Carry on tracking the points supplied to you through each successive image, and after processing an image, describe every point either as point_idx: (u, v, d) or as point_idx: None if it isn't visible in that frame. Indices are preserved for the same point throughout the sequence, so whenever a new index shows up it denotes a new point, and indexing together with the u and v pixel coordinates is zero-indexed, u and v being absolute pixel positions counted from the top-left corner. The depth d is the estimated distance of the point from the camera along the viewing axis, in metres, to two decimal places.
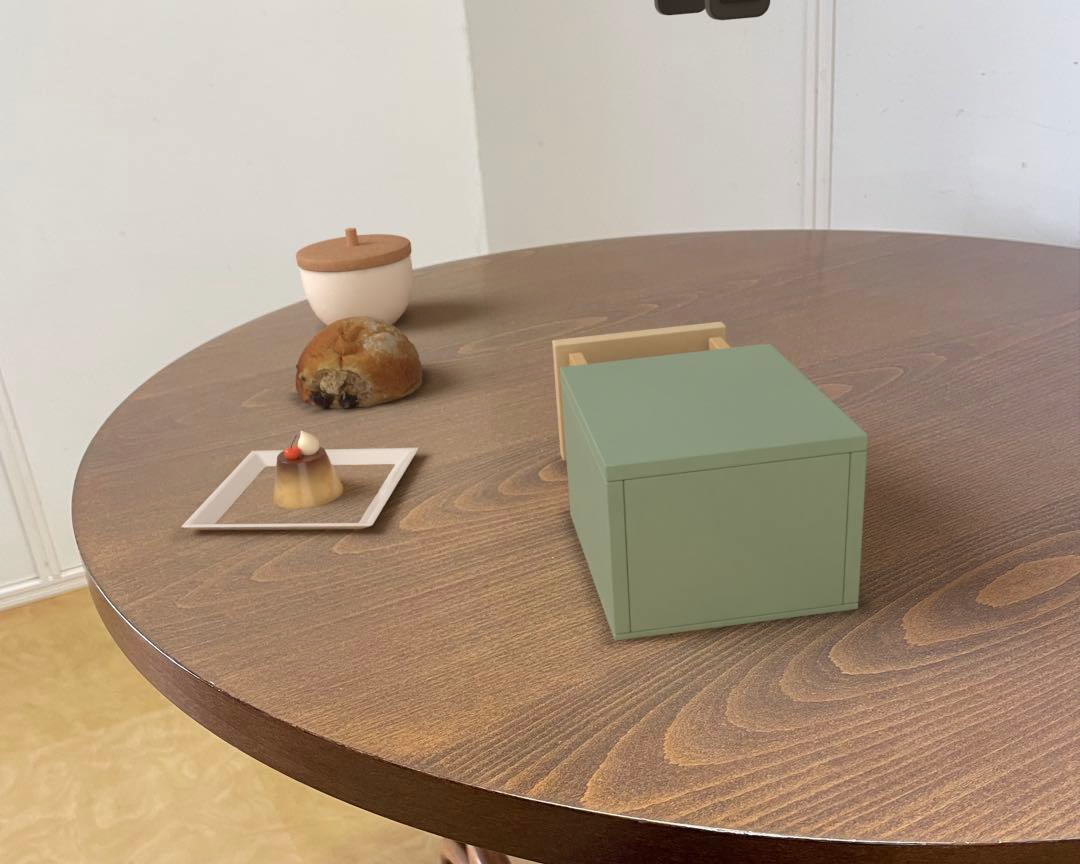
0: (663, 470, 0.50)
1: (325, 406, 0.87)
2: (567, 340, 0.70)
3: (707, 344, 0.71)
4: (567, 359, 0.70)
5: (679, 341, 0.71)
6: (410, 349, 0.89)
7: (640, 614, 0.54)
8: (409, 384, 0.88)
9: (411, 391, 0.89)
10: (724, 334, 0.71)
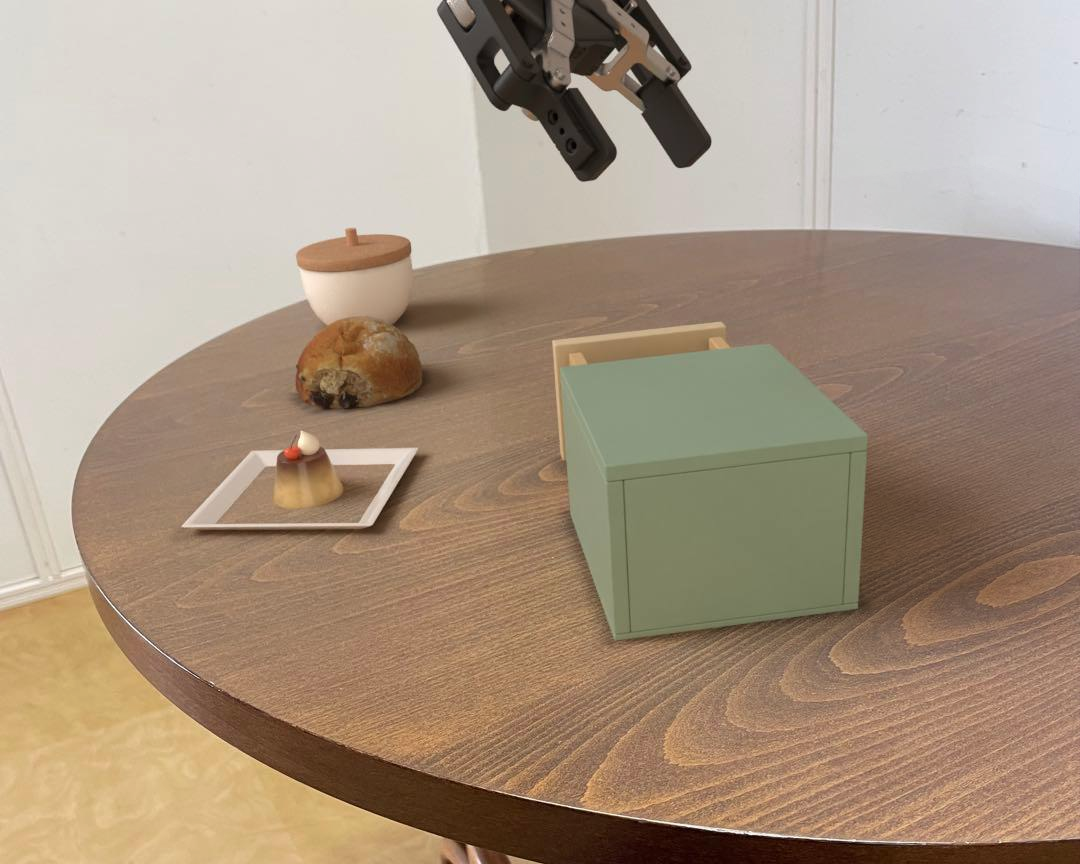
0: (663, 470, 0.50)
1: (325, 406, 0.87)
2: (567, 340, 0.70)
3: (707, 344, 0.71)
4: (567, 359, 0.70)
5: (679, 341, 0.71)
6: (410, 349, 0.89)
7: (640, 614, 0.54)
8: (409, 384, 0.88)
9: (411, 391, 0.89)
10: (724, 334, 0.71)
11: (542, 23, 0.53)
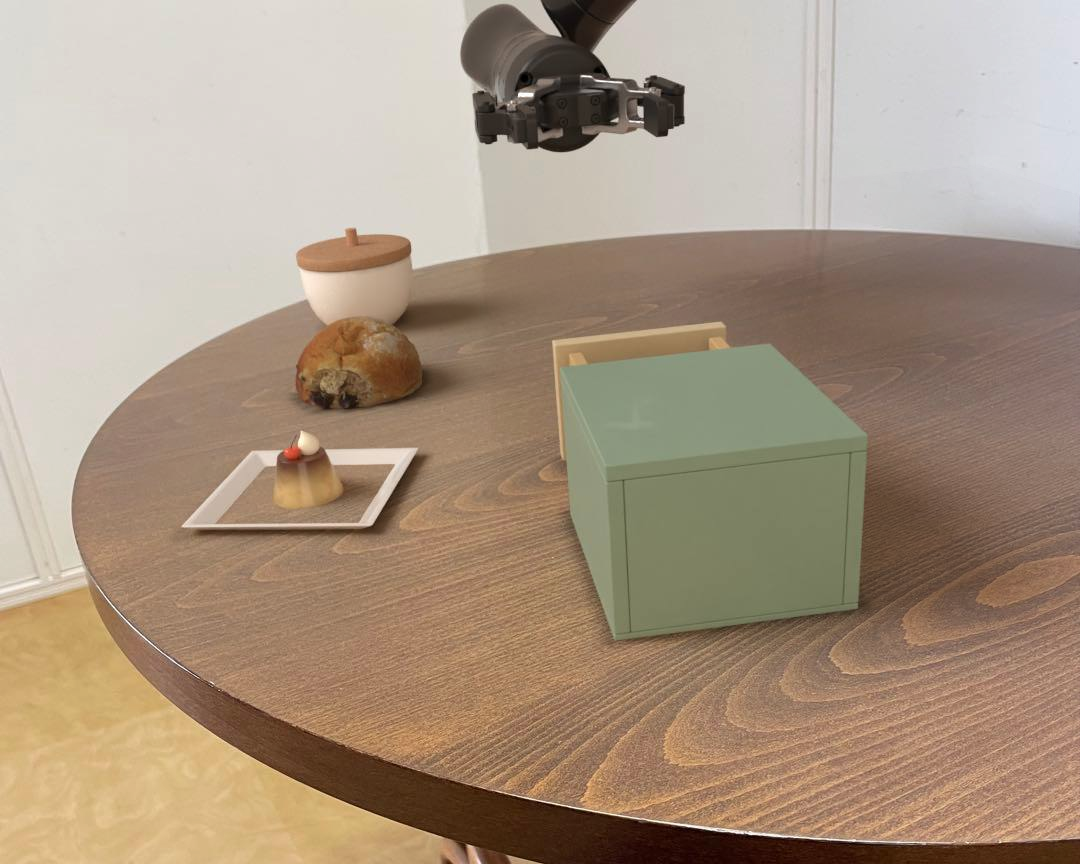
0: (663, 470, 0.50)
1: (325, 406, 0.87)
2: (567, 340, 0.70)
3: (707, 344, 0.71)
4: (567, 359, 0.70)
5: (679, 341, 0.71)
6: (410, 349, 0.89)
7: (640, 614, 0.54)
8: (409, 384, 0.88)
9: (411, 391, 0.89)
10: (724, 334, 0.71)
11: None
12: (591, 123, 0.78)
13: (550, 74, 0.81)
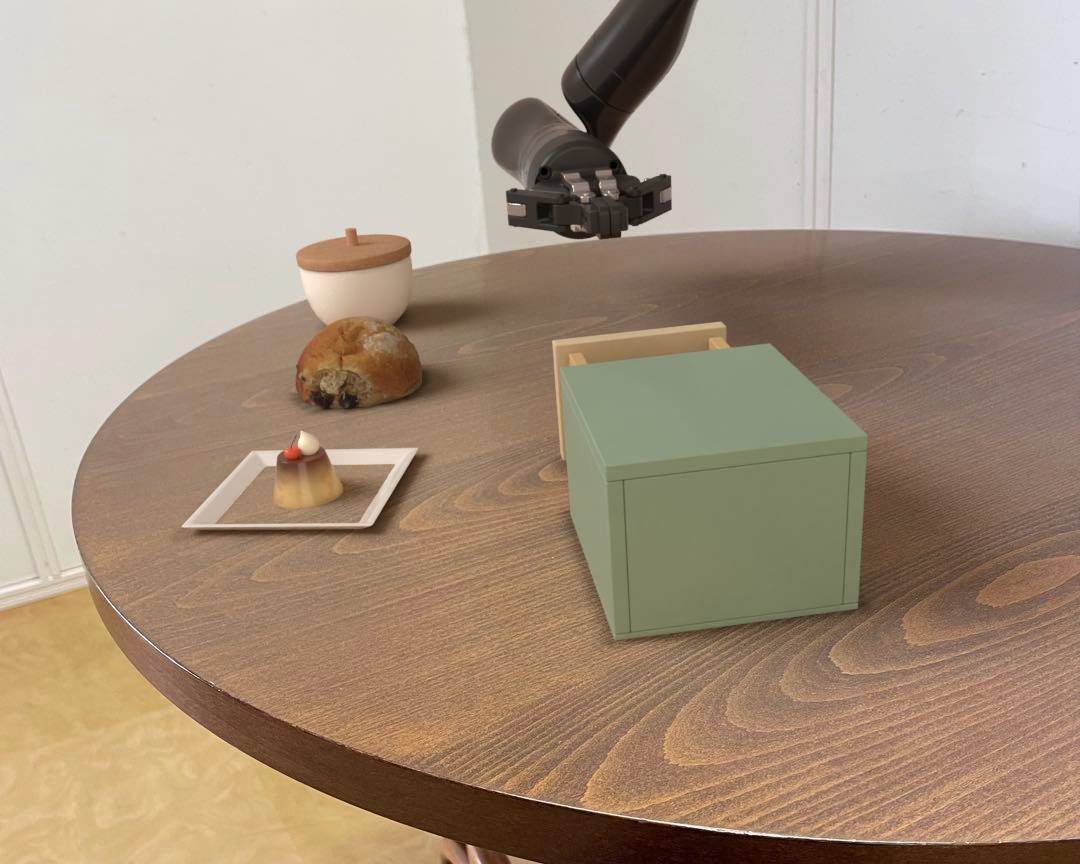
0: (663, 470, 0.50)
1: (325, 406, 0.87)
2: (567, 340, 0.70)
3: (707, 344, 0.71)
4: (567, 359, 0.70)
5: (679, 341, 0.71)
6: (410, 349, 0.89)
7: (640, 614, 0.54)
8: (409, 384, 0.88)
9: (411, 391, 0.89)
10: (724, 334, 0.71)
11: (549, 192, 0.83)
12: None
13: (568, 168, 0.86)
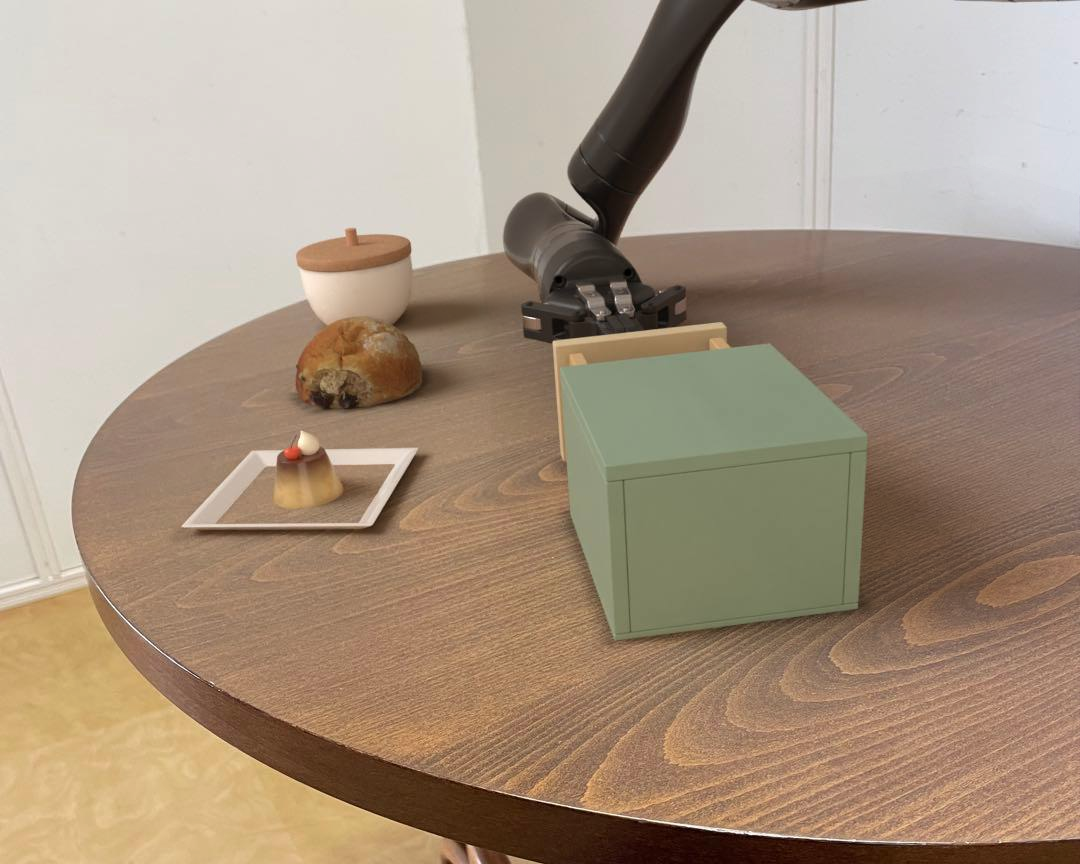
0: (663, 470, 0.50)
1: (325, 406, 0.87)
2: (567, 341, 0.70)
3: (708, 345, 0.71)
4: (567, 360, 0.70)
5: (679, 342, 0.70)
6: (410, 349, 0.89)
7: (640, 614, 0.54)
8: (409, 384, 0.88)
9: (411, 391, 0.89)
10: (725, 335, 0.71)
11: (565, 305, 0.83)
12: None
13: (582, 277, 0.86)
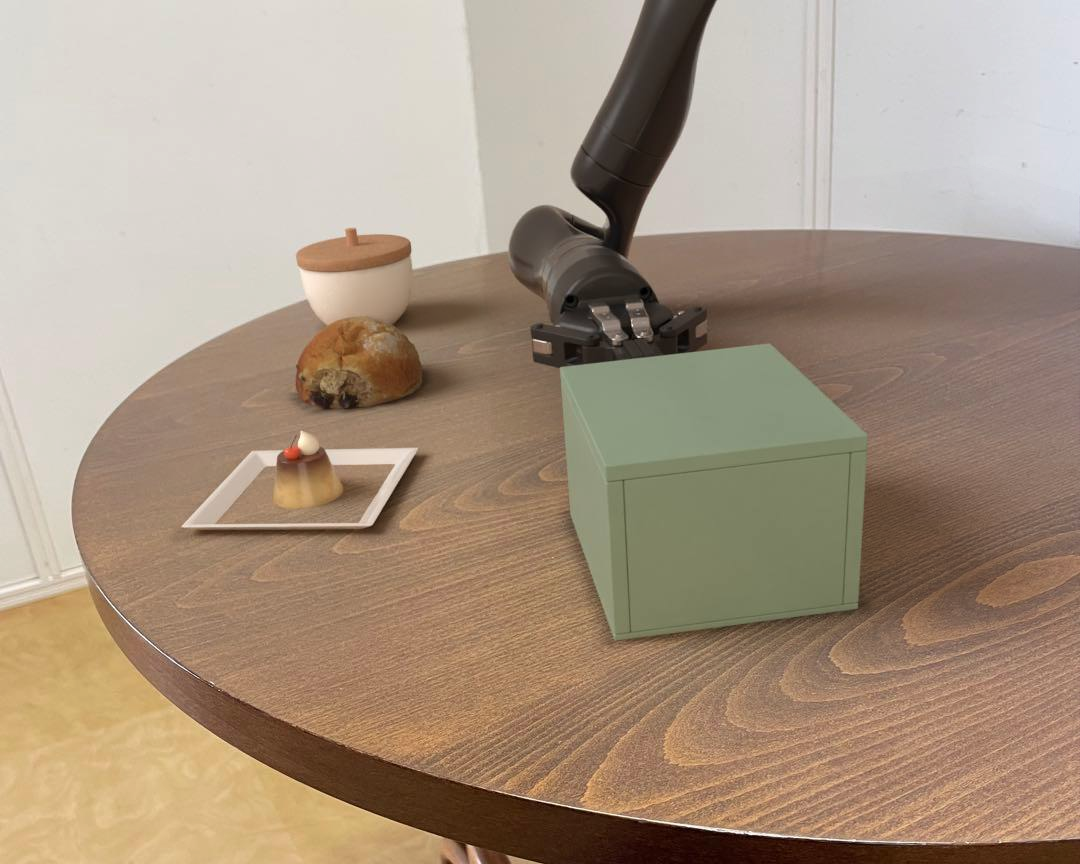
0: (663, 470, 0.50)
1: (325, 406, 0.87)
2: None
3: None
4: None
5: None
6: (410, 349, 0.89)
7: (640, 614, 0.54)
8: (409, 384, 0.88)
9: (411, 391, 0.89)
10: None
11: (577, 327, 0.78)
12: None
13: (595, 296, 0.81)
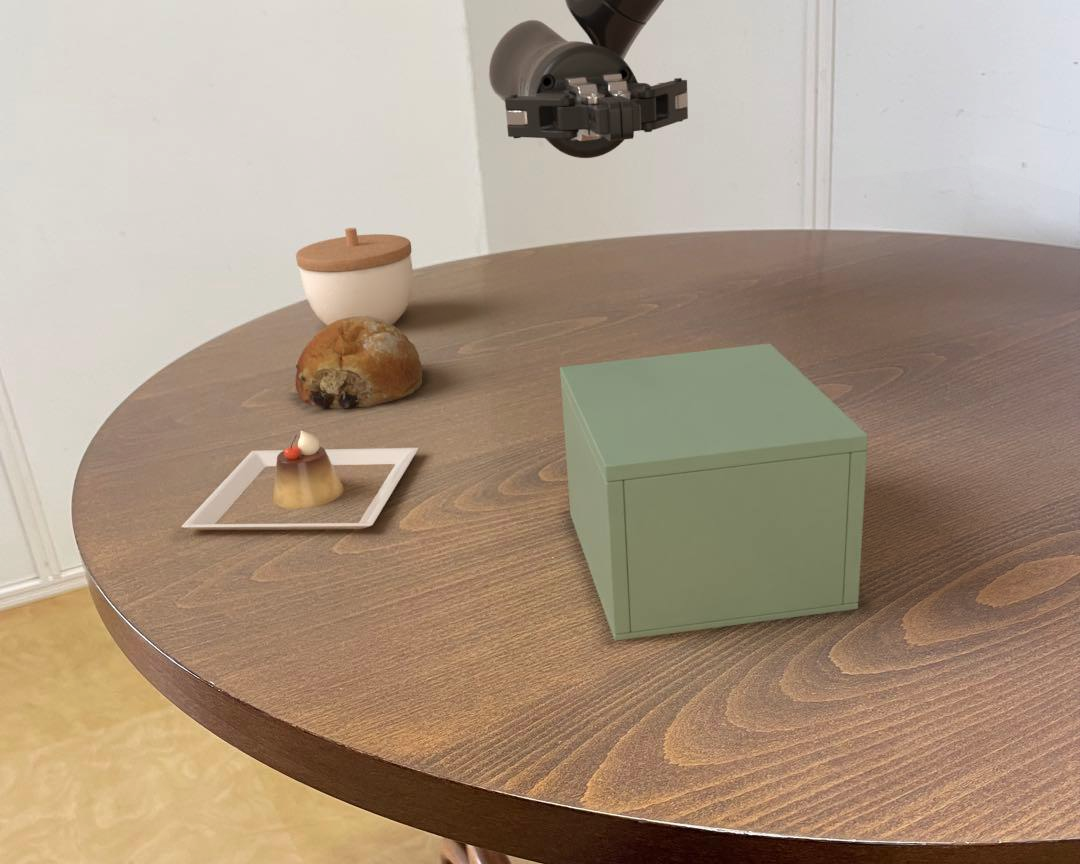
0: (663, 470, 0.50)
1: (325, 406, 0.87)
2: None
3: None
4: None
5: None
6: (410, 349, 0.89)
7: (640, 614, 0.54)
8: (409, 384, 0.88)
9: (411, 391, 0.89)
10: None
11: None
12: None
13: (573, 77, 0.78)
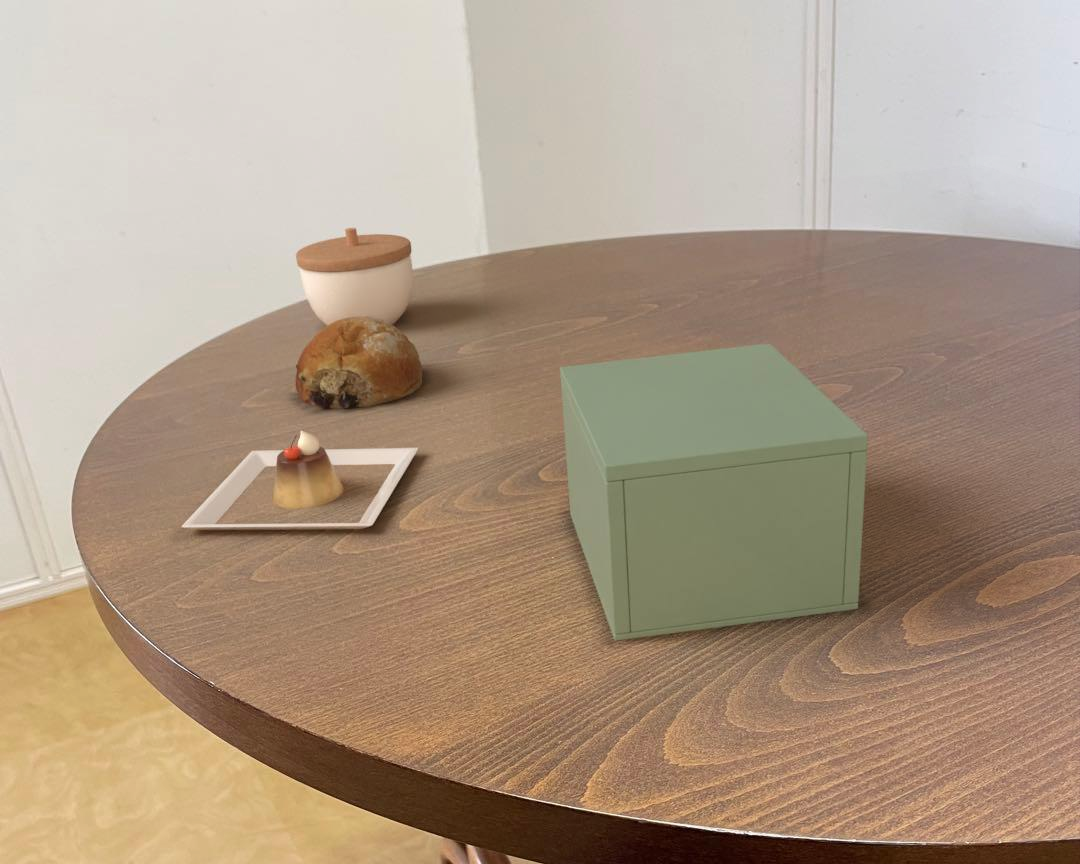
0: (663, 470, 0.50)
1: (325, 406, 0.87)
2: None
3: None
4: None
5: None
6: (410, 349, 0.89)
7: (640, 614, 0.54)
8: (409, 384, 0.88)
9: (411, 391, 0.89)
10: None
11: None
12: None
13: None
